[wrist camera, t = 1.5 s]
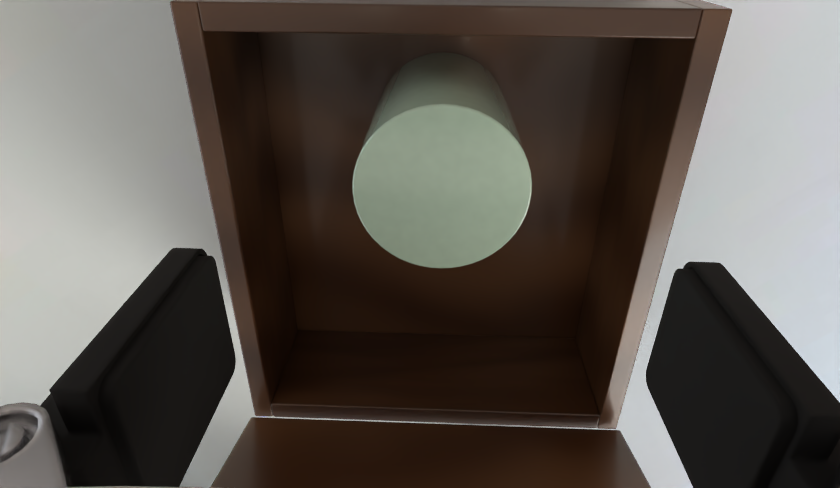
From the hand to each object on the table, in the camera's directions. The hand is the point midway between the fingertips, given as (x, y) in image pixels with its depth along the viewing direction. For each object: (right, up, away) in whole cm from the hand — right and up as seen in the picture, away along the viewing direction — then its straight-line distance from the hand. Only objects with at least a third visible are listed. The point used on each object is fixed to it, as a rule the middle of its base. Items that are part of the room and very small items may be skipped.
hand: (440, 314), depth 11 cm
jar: (0, +6, +11) cm, 12 cm away
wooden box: (0, +4, +13) cm, 13 cm away
